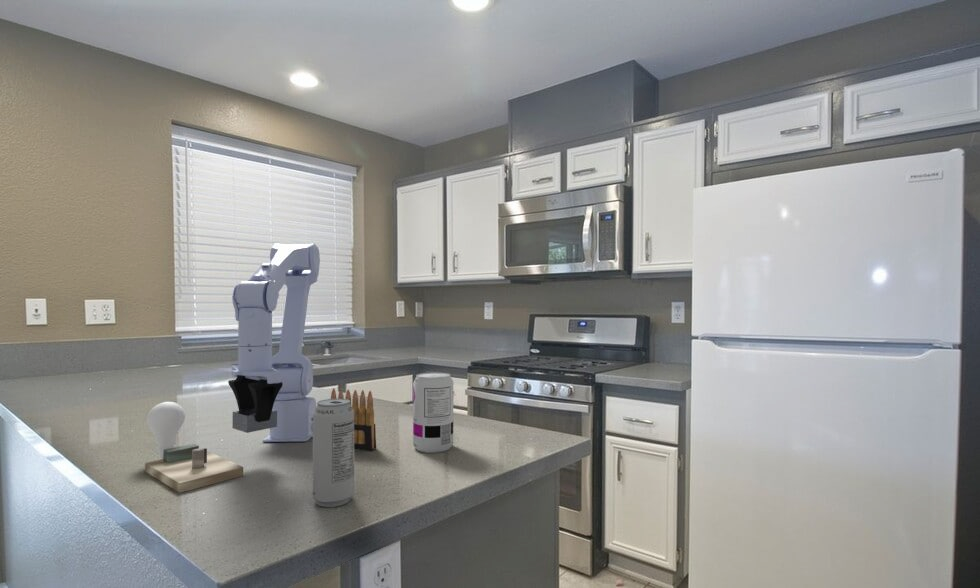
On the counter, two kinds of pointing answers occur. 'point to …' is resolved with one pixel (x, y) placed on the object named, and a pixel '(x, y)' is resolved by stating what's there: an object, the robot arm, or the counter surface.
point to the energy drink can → (333, 452)
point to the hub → (252, 421)
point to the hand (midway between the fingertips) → (254, 418)
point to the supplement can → (433, 412)
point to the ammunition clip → (361, 419)
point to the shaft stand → (191, 468)
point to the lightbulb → (165, 424)
